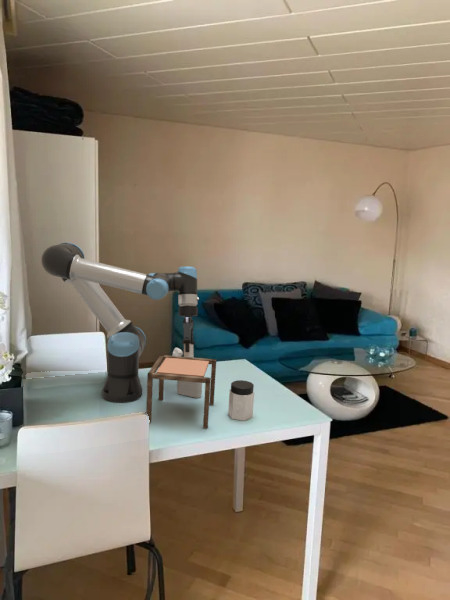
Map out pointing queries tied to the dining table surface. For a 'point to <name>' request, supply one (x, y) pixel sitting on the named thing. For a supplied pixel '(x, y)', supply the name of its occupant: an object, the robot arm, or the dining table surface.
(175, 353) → the sitting furry creature
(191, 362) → the trapdoor
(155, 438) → the dining table surface
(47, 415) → the dining table surface
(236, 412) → the jar
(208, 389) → the trapdoor frame
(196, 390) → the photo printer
